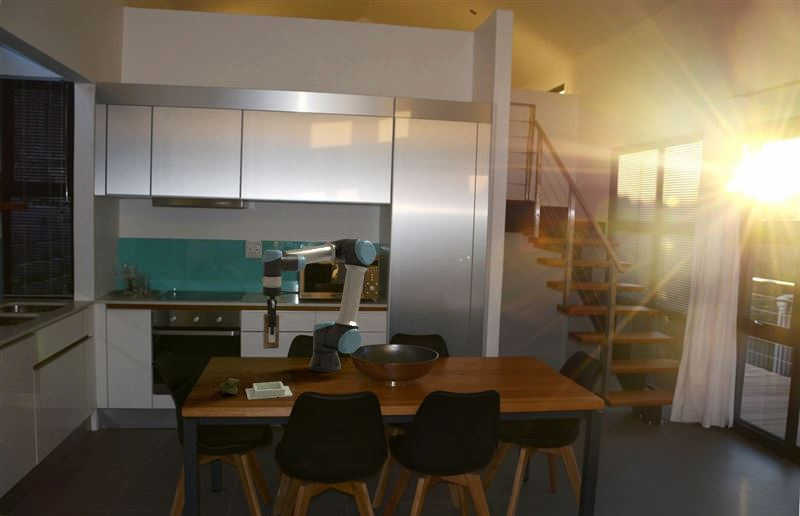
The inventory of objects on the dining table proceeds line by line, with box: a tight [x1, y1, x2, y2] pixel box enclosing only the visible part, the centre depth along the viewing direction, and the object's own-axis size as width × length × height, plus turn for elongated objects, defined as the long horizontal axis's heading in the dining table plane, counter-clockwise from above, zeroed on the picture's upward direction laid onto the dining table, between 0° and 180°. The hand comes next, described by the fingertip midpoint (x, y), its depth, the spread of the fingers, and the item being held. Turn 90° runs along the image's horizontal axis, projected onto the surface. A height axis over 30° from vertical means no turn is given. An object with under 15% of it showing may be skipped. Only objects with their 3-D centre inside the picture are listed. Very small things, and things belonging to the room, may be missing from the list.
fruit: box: [220, 377, 241, 395], centre depth 257 cm, size 11×12×7 cm
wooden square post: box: [262, 313, 280, 350], centre depth 261 cm, size 6×5×14 cm
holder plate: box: [245, 381, 294, 401], centre depth 258 cm, size 18×14×3 cm
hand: (271, 340), depth 261 cm, fingers closed on wooden square post, 5 cm apart
